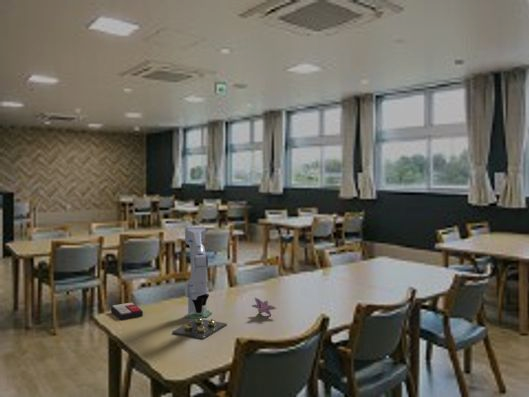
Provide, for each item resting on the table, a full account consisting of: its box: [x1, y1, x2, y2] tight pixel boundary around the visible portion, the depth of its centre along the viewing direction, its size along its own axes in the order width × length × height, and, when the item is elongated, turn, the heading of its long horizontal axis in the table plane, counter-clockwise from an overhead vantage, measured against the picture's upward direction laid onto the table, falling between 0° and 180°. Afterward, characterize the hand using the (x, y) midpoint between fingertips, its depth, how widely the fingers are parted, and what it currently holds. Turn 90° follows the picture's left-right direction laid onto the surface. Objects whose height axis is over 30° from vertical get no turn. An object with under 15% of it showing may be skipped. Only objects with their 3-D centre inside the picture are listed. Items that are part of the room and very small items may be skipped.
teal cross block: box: [187, 304, 213, 320], centre depth 203 cm, size 11×9×4 cm
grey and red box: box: [110, 302, 144, 321], centre depth 224 cm, size 11×4×15 cm
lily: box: [251, 297, 277, 319], centre depth 222 cm, size 12×12×10 cm
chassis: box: [171, 318, 228, 340], centre depth 203 cm, size 20×16×4 cm
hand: (200, 311), depth 203 cm, fingers closed on teal cross block, 3 cm apart
